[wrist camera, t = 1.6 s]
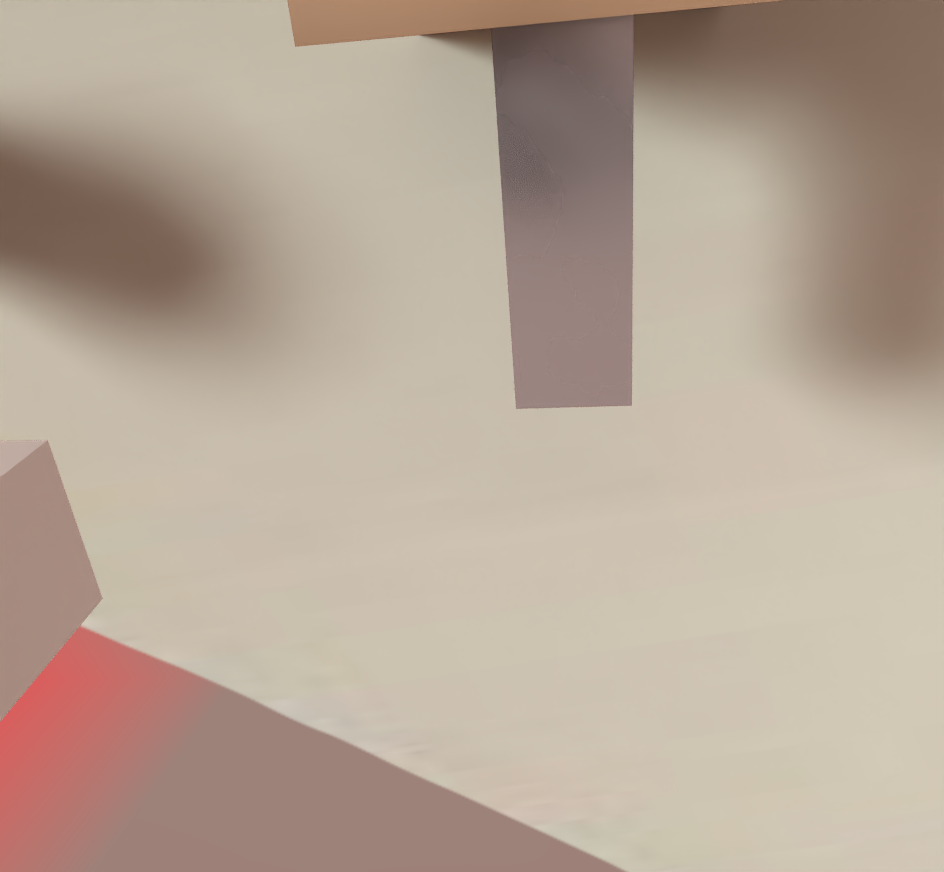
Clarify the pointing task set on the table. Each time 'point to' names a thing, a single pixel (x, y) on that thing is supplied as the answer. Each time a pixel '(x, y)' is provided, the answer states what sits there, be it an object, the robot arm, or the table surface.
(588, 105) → the shaft
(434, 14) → the block
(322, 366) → the table surface
